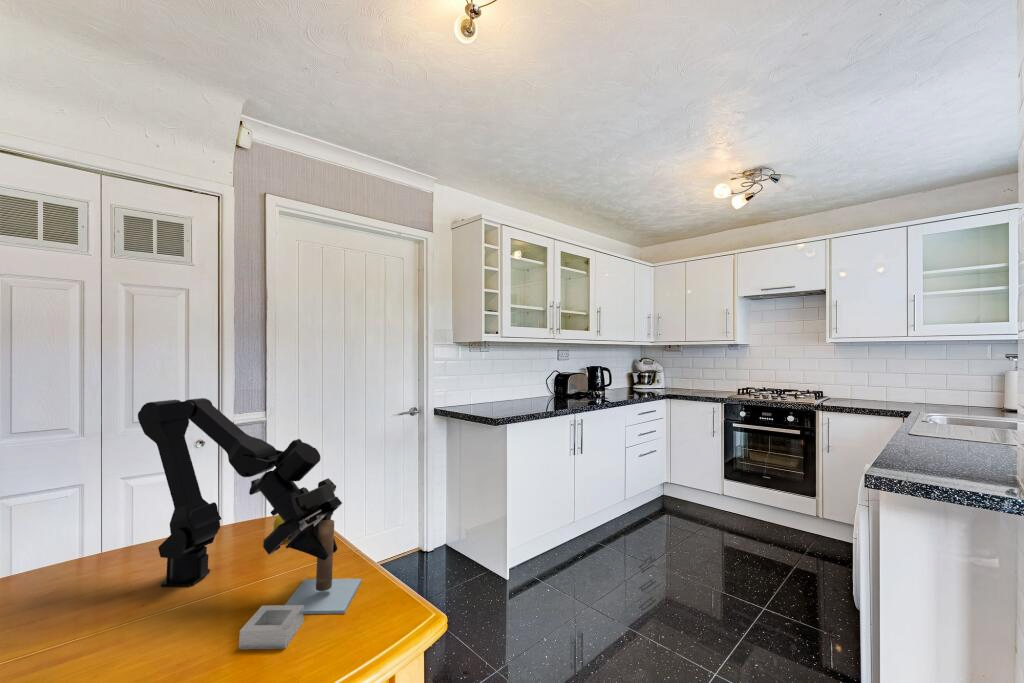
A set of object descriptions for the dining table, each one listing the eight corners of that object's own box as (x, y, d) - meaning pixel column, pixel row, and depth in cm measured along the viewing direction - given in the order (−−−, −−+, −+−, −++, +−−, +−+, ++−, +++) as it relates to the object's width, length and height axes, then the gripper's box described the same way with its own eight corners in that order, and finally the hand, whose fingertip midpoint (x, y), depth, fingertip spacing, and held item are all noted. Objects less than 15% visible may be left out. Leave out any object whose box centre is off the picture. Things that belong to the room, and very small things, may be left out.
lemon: (300, 536, 119) (302, 506, 119) (288, 545, 114) (289, 513, 114) (281, 535, 120) (282, 505, 120) (268, 544, 114) (269, 512, 114)
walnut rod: (316, 592, 88) (318, 526, 89) (315, 585, 91) (317, 520, 92) (332, 589, 90) (335, 523, 90) (331, 582, 93) (333, 518, 93)
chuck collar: (238, 649, 74) (239, 630, 74) (261, 622, 82) (262, 605, 82) (285, 648, 74) (286, 630, 75) (303, 621, 82) (304, 605, 82)
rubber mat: (279, 614, 84) (279, 611, 84) (305, 581, 96) (305, 579, 96) (344, 613, 85) (344, 610, 85) (361, 581, 97) (361, 578, 97)
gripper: (280, 482, 83) (332, 548, 80) (335, 459, 101) (379, 513, 99) (240, 521, 84) (291, 588, 82) (302, 492, 102) (345, 545, 100)
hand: (331, 554), depth 90 cm, fingers closed on walnut rod, 3 cm apart
